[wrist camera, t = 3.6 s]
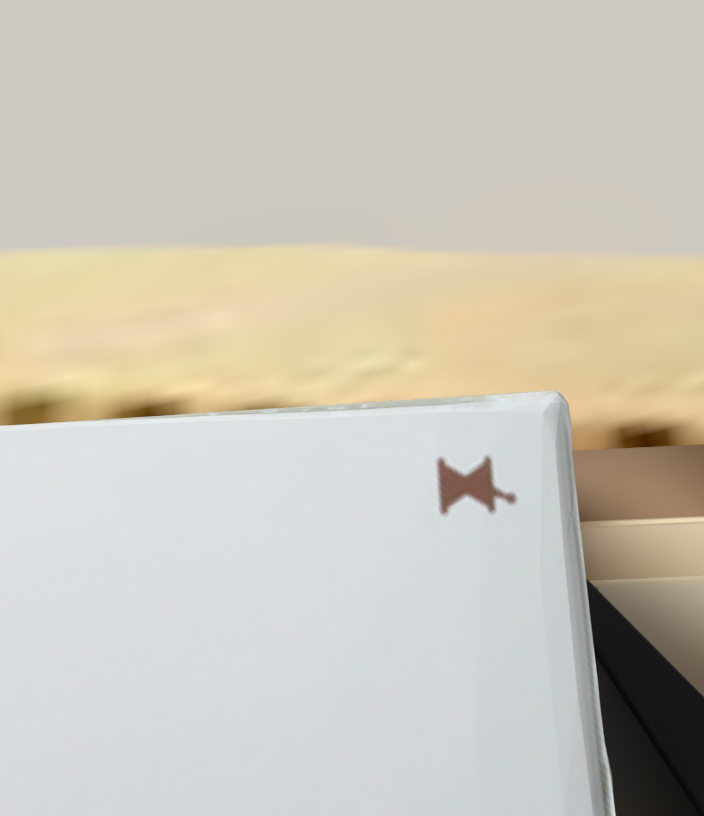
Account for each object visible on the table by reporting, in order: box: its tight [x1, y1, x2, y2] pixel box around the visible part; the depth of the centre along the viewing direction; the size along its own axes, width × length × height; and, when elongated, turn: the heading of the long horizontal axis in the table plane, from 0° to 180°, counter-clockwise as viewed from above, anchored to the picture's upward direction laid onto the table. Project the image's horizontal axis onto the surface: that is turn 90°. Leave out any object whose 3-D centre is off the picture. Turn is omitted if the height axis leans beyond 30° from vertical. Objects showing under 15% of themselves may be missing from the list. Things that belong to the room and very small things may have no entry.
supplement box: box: [0, 390, 616, 816], centre depth 11 cm, size 7×7×13 cm
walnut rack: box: [573, 445, 704, 522], centre depth 14 cm, size 12×8×5 cm, turn 3°
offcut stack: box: [580, 516, 704, 696], centre depth 14 cm, size 8×5×4 cm, turn 3°
